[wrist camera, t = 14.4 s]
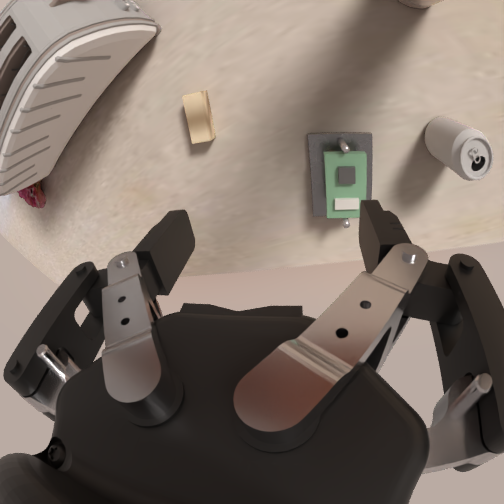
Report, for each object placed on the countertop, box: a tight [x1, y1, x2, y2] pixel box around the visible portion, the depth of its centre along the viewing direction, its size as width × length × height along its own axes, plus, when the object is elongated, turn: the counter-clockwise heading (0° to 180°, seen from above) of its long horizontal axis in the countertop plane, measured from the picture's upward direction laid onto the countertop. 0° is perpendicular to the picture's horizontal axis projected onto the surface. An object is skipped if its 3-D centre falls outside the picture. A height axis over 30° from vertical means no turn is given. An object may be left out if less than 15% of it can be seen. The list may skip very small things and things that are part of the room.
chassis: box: [307, 132, 372, 228], centre depth 39 cm, size 14×10×6 cm
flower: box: [17, 179, 46, 208], centre depth 49 cm, size 11×10×10 cm
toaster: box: [0, 0, 162, 196], centre depth 27 cm, size 21×45×22 cm, turn 126°
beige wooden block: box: [182, 91, 216, 144], centre depth 38 cm, size 8×3×3 cm, turn 8°
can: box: [425, 117, 493, 181], centre depth 29 cm, size 8×8×12 cm
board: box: [324, 151, 367, 218], centre depth 37 cm, size 10×6×2 cm, turn 8°
